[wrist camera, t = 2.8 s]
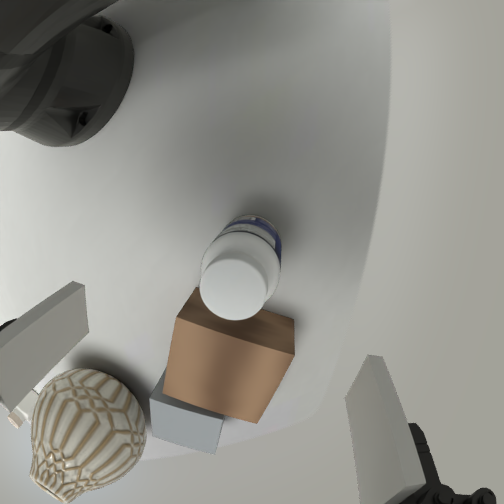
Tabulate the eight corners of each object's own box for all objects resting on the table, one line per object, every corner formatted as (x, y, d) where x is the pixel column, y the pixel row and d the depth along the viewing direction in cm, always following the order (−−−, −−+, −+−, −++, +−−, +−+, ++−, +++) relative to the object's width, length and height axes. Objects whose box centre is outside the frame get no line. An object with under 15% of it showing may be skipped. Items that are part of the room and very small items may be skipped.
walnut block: (179, 358, 31) (162, 393, 26) (196, 286, 28) (176, 316, 22) (262, 385, 31) (256, 423, 25) (293, 318, 28) (294, 355, 22)
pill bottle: (264, 282, 27) (252, 344, 18) (212, 255, 27) (174, 305, 17) (293, 232, 25) (296, 275, 16) (237, 203, 25) (208, 229, 16)
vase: (55, 365, 36) (-13, 443, 17) (103, 335, 32) (8, 445, 13) (120, 431, 39) (74, 516, 20) (182, 418, 35) (135, 536, 16)
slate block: (167, 404, 34) (152, 436, 29) (167, 364, 32) (149, 398, 26) (223, 420, 34) (214, 454, 28) (232, 382, 31) (222, 419, 26)
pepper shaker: (29, 394, 42) (7, 419, 33) (29, 385, 40) (4, 412, 31) (43, 405, 42) (21, 432, 33) (42, 397, 41) (19, 425, 32)
